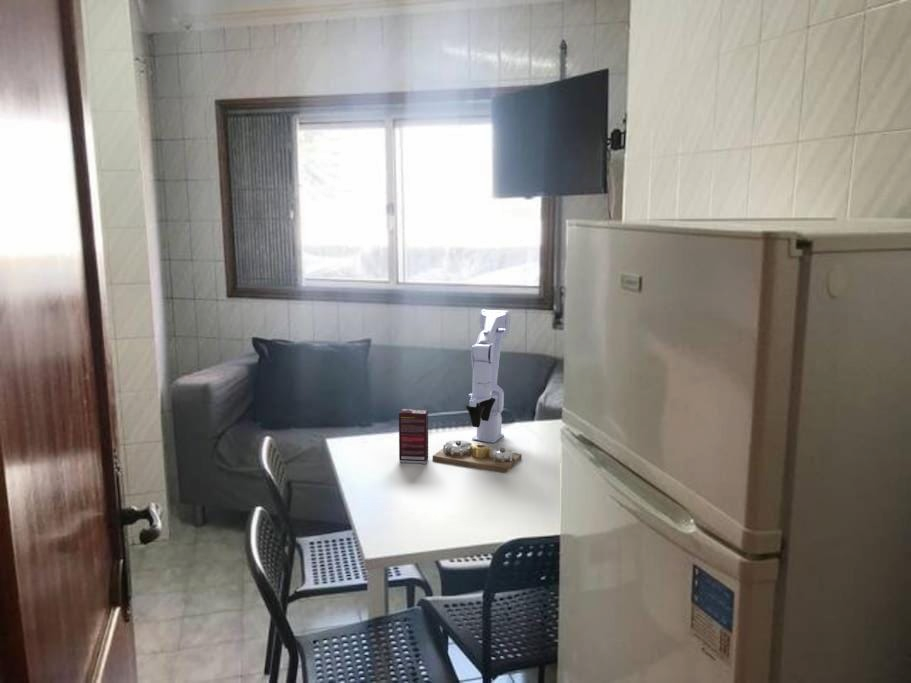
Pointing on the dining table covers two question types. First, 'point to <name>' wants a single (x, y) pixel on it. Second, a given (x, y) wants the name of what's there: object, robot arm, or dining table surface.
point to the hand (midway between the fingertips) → (480, 423)
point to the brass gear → (480, 451)
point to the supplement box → (413, 436)
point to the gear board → (462, 455)
